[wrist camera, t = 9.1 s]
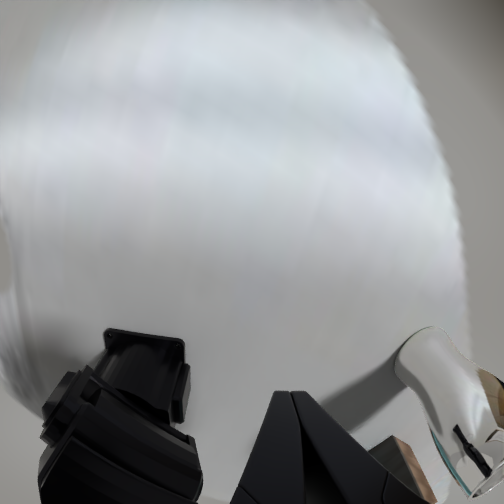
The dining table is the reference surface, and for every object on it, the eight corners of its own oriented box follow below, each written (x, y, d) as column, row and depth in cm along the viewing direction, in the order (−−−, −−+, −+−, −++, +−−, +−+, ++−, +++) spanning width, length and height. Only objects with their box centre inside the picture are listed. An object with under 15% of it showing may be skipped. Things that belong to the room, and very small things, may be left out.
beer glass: (408, 393, 24) (474, 504, 10) (376, 362, 22) (455, 501, 8) (458, 345, 23) (545, 440, 8) (435, 306, 21) (550, 416, 7)
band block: (289, 494, 29) (297, 553, 19) (392, 435, 26) (422, 499, 16) (314, 500, 30) (324, 554, 20) (409, 445, 27) (437, 501, 18)
